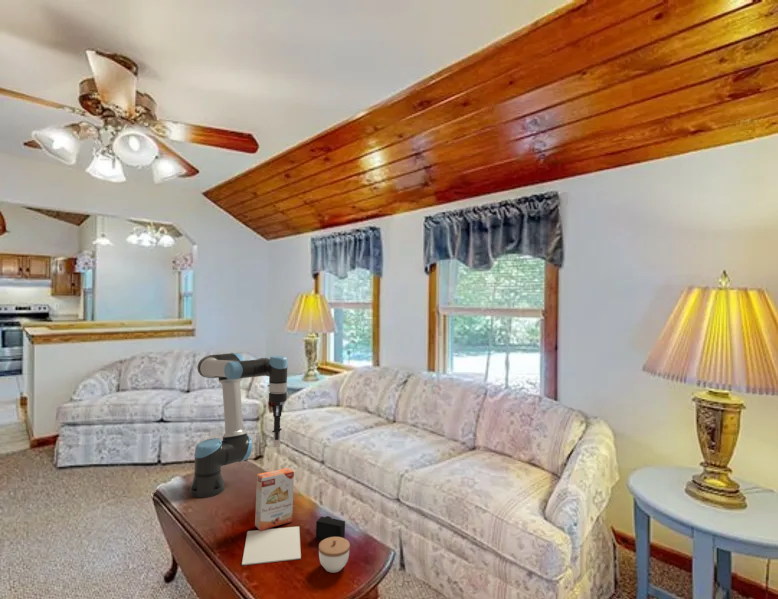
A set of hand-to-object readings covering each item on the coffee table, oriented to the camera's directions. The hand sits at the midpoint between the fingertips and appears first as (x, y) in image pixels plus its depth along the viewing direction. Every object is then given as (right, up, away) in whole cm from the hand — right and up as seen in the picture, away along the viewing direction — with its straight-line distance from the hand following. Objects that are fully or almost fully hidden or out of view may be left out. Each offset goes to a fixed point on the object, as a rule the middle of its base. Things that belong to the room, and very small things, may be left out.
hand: (276, 446), depth 188 cm
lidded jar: (+30, -29, -38) cm, 56 cm away
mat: (+5, -28, -25) cm, 38 cm away
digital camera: (+26, -29, -20) cm, 44 cm away
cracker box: (+2, -28, -11) cm, 30 cm away
